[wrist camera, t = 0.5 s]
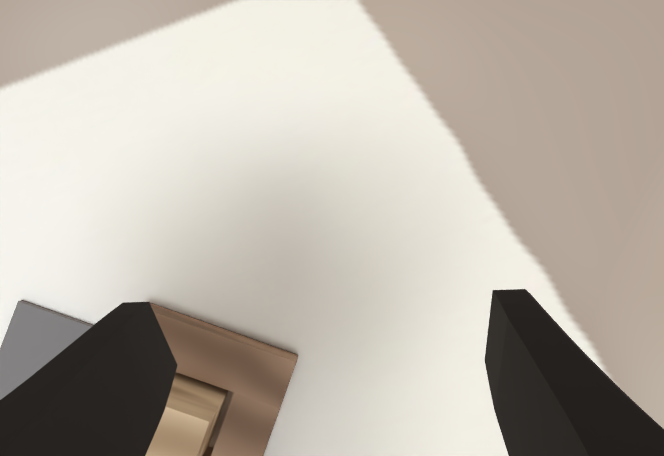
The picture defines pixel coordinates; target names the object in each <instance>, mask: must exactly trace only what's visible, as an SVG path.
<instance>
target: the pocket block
mask: <svg viewBox="0 0 664 456" xmlns="http://www.w3.org/2000/svg"><path fill="white" fill-rule="evenodd" d="M150 305H151V307H152V309H153V311H154V314H155V316H156V318H157V320H158V323H159V325H160V327H161V329H162V332H163V334H164V336H165V338H166V340H167V343H168V345H169V347H170V349H171V352H172V354H173V356H174V358H175V360H176V363H177V369H176V373H175V375H176V374H177V373H180V374H183V375H186V376H189V377H191V378H194V379H197V380H200V381H203V382H206V383H209V384H211V385H214V386H217V387H220V388H223V389H226V390H229V392H228V395H227V397H226V400H225V403H224V406H223V408H222V411H221V414H220V417H219V420H218V422H217V425H216V428H215V431H214V433H213V436H212V439H211V441H210V443H209V445H208V447H207V448H206V450H205V452H204V454H203V456H263V455H264V452H265V449H266V446H267V443H268V440H269V438H270V435H271V432H272V429H273V426H274V424H275V421H276V418H277V415H278V412H279V410H280V407H281V404H282V401H283V398H284V396H285V393H286V390H287V387H288V384H289V382H290V379H291V376H292V373H293V370H294V367H295V365H296V362H297V357H298V355H297V354H294V353H291V352H288V351H285V350H282V349H280V348H277V347H274V346H271V345H268V344H265V343H263V342H260V341H257V340H254V339H251V338H248V337H246V336H243V335H240V334H237V333H234V332H231V331H229V330H226V329H223V328H220V327H217V326H214V325H212V324H209V323H206V322H203V321H200V320H197V319H195V318H192V317H189V316H186V315H183V314H180V313H178V312H175V311H172V310H169V309H166V308H163V307H161V306H158V305H155V304H152V303H150Z"/></svg>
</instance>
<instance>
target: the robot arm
mask: <svg viewBox="0 0 664 456" xmlns="http://www.w3.org/2000/svg"><path fill="white" fill-rule="evenodd" d="M485 364H486V370H487V375H488V380H489V385H490V390H491V395H492V400H493V405H494V410H495V413H496V416H497V419H498V423H499V426H500V429H501V432H502V435H503V439H504V442H505V445H506V448H507V451H508V455H509V456H664V429H663V428H662V427H661V426H659V425H658V424H657V423H656V422H655V421H654V420H653V419H652V418H651V417H650V416H649V415H648V414H646V413H645V412H644V411H643V410H642V409H641V408H640V407H639V406H638V405H637V404H636V403H635V402H634V401H632V400H631V399H630V398H629V397H628V396H627V395H626V394H625V393H624V392H623V391H622V390H621V389H620V388H619V387H618V386H617V385H616V384H615V383H614V382H613V381H612V380H611V379H610V378H609V377H608V376H607V375H606V374H605V373H604V372H603V371H602V370H601V369H600V368H599V367H598V366H597V365H596V364H595V363H594V362H593V361H592V360H591V359H590V358H589V357H588V356H587V355H586V354H585V353H584V352H583V351H582V350H581V349H580V348H579V347H578V346H577V345H576V343H575V342H574V341H573V340H572V339H571V338H570V337H569V336H568V335H567V334H566V333H565V332H564V331H563V330H562V328H561V327H560V326H559V325H558V324H557V323H556V322H555V321H554V320H553V319H552V318H551V316H550V315H549V314H548V313H547V312H546V311H545V310H544V309H543V308H542V306H541V305H540V304H539V303H538V302H537V301H536V300H535V299H534V297H533V296H532V295H531V294H530V293H529V292H528V291H527V290H525V289H517V290H493V293H492V302H491V310H490V319H489V328H488V337H487V345H486V354H485ZM176 369H177V363H176V360H175V358H174V356H173V354H172V352H171V349H170V347H169V345H168V343H167V340H166V338H165V336H164V334H163V332H162V329H161V327H160V325H159V323H158V320H157V318H156V316H155V314H154V311H153V309H152V307H151V305H150V303H149V302H131V303H122V304H121V305H119V306H118V307H117V308H115V309H114V310H113V311H111V312H110V313H109V314H107V315H106V316H105V317H104V318H102V319H101V320H100V321H98V322H97V323H96V324H95V325H93V326H92V327H91V328H90V329H89V330H87V331H86V332H85V333H84V334H82V335H81V336H80V337H79V338H78V339H76V340H75V341H74V342H73V343H71V344H70V345H69V346H68V347H67V348H65V349H64V350H63V351H62V352H60V353H59V354H58V355H57V356H55V357H54V358H53V359H52V360H51V361H49V362H48V363H47V364H46V365H44V366H43V367H42V368H41V369H39V370H38V371H37V372H36V373H35V374H33V375H32V376H31V377H30V378H28V379H27V380H26V381H25V382H23V383H22V384H21V385H19V386H18V387H17V388H15V389H14V390H13V391H11V392H10V393H9V394H8V395H6V396H5V397H4V398H2V399H1V400H0V456H145V455H146V453H147V451H148V448H149V446H150V444H151V441H152V439H153V437H154V434H155V432H156V430H157V427H158V425H159V423H160V420H161V418H162V415H163V413H164V410H165V407H166V404H167V401H168V397H169V394H170V391H171V387H172V384H173V380H174V376H175V373H176Z"/></svg>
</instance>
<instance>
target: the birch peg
mask: <svg viewBox="0 0 664 456" xmlns="http://www.w3.org/2000/svg"><path fill="white" fill-rule="evenodd" d="M228 392H229V390H226V389H223V388H220V387H217V386H214V385H211V384H209V383H206V382H203V381H200V380H197V379H194V378H191V377H189V376H186V375H183V374H180V373H177V374H176V375H175V376H174V380H173V384H172V387H171V391H170V394H169V397H168V401H167V404H166V407H165V410H164V413H163V415H162V418H161V420H160V423H159V425H158V427H157V430H156V432H155V434H154V437H153V439H152V441H151V444H150V446H149V448H148V451H147V453H146V455H145V456H203V454H204V452H205V450H206V448H207V447H208V445H209V443H210V441H211V439H212V436H213V433H214V431H215V428H216V425H217V422H218V420H219V417H220V414H221V411H222V408H223V406H224V403H225V400H226V397H227V395H228Z"/></svg>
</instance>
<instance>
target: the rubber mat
mask: <svg viewBox="0 0 664 456" xmlns="http://www.w3.org/2000/svg"><path fill="white" fill-rule="evenodd" d="M92 326H93V325H92V324H89V323H86V322H83V321H80V320H77V319H74V318H72V317H69V316H66V315H63V314H60V313H57V312H55V311H52V310H49V309H46V308H43V307H40V306H37V305H35V304H32V303H29V302H26V301H23V300H22V301H18V303H17V306H16V309H15V311H14V314H13V316H12V319H11V322H10V324H9V327H8V330H7V332H6V335H5V337H4V340H3V343H2V345H1V348H0V400H1V399H2V398H4V397H5V396H6V395H8V394H9V393H10V392H11V391H13V390H14V389H15V388H17V387H18V386H19V385H21V384H22V383H23V382H25V381H26V380H27V379H28V378H30V377H31V376H32V375H33V374H35V373H36V372H37V371H38V370H39V369H41V368H42V367H43V366H44V365H46V364H47V363H48V362H49V361H51V360H52V359H53V358H54V357H55V356H57V355H58V354H59V353H60V352H62V351H63V350H64V349H65V348H67V347H68V346H69V345H70V344H71V343H73V342H74V341H75V340H76V339H78V338H79V337H80V336H81V335H82V334H84V333H85V332H86V331H87V330H89V329H90V328H91V327H92Z"/></svg>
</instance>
